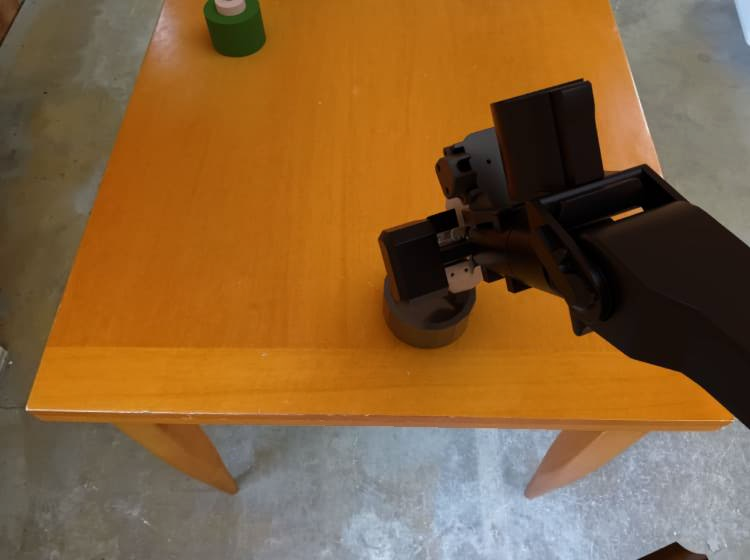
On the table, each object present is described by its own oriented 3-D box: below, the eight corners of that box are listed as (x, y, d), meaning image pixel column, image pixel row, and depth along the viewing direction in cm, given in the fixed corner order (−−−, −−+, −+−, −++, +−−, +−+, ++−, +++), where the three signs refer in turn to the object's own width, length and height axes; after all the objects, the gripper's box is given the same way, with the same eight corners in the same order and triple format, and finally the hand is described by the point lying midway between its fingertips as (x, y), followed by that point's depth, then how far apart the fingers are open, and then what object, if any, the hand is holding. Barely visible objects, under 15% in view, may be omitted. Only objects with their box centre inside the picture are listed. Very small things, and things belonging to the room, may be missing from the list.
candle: (238, 64, 86) (222, 1, 77) (201, 42, 88) (182, -20, 80) (276, 37, 89) (266, -26, 81) (239, 17, 92) (225, -46, 83)
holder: (488, 313, 63) (495, 292, 59) (425, 366, 60) (428, 348, 56) (428, 259, 67) (431, 236, 63) (365, 306, 63) (364, 285, 60)
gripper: (642, 94, 39) (527, 116, 54) (387, 168, 35) (340, 170, 50) (665, 249, 41) (550, 230, 56) (429, 332, 38) (373, 288, 53)
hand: (457, 227), depth 54 cm, fingers closed on salt shaker, 3 cm apart
